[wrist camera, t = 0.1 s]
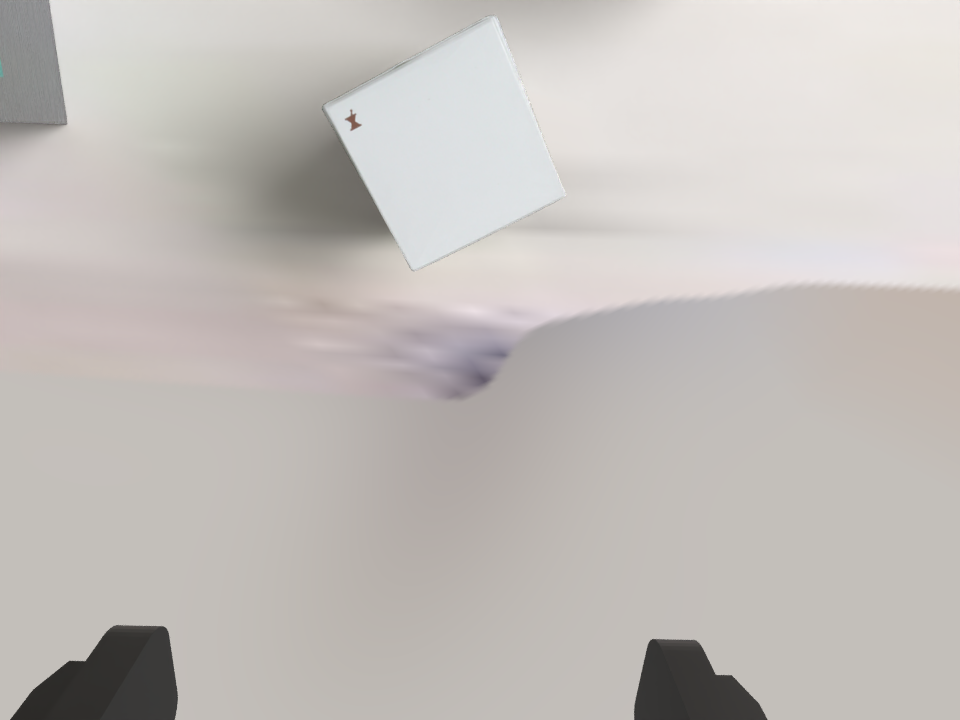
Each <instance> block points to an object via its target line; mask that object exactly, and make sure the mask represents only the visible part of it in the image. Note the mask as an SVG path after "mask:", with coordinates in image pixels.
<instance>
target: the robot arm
mask: <svg viewBox="0 0 960 720" xmlns="http://www.w3.org/2000/svg"><path fill="white" fill-rule="evenodd" d="M177 696H178V695H177V686H176V680H175V673H174V666H173V659H172V652H171V646H170V639H169V633H168V631H167V629H166V628H165V627H163V626H123V625H122V626H121V625H116V626H113V627H112V628H110V629H109V630H108V631H107V632H106V633H105V635H104V636H103V637H102V639H101V640H100V641H99V643H98V644H97V646H96V647H95V649H94V650H93V652H92V653H91V654H90V656H89V657H88V658H87V660H86V661H69V662H67V663H66V664H65V665H64V666H62V667H61V668H60V669H59V670H57V671H56V672H55V673H54V674H52V675H51V676H50V677H49V678H47V679H46V680H45V681H44V682H42V683H41V684H40V685H39V686H37V687H36V688H35V689H34V690H33V691H32V692H31V693H30V694H29V696H28V697H27V698H26V700H25V701H24V702H23V704H22V705H21V706H20V708H19V709H18V710H17V712H16V713H15V714H14V715H13V717H12V718H11V719H10V720H175V715H176V710H177V701H178V697H177ZM634 720H767V718H766V716H765V714H764V712H763V711H762V709H761V707H760V705H759V703H758V702H757V701H756V700H755V699H754V698H753V697H752V696H751V695H750V694H749V693H748V692H747V691H746V690H745V689H744V688H743V687H742V686H741V685H740V684H739V683H738V681H737V680H736V679H735V678H734V677H733V676H732V675H715V673H714V670H713V668H712V666H711V664H710V662H709V660H708V658H707V656H706V654H705V652H704V650H703V648H702V647H701V645H700V644H699V643H698V642H697V641H695V640H664V639H663V640H662V639H652V640H651V641H650V642H649V644H648V647H647V651H646V655H645V660H644V665H643V669H642V673H641V678H640V683H639V687H638V691H637V696H636V701H635V709H634Z"/></svg>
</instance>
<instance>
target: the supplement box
mask: <svg viewBox="0 0 960 720" xmlns="http://www.w3.org/2000/svg"><path fill="white" fill-rule="evenodd" d="M322 110H323V112H324V113H325V115H326V117H327V119H328V121H329V122H330V124H331V126H332V128H333V130H334V131H335V133H336V135H337V137H338V139H339V140H340V142H341V144H342V146H343V147H344V149H345V151H346V153H347V155H348V156H349V158H350V160H351V162H352V164H353V165H354V167H355V169H356V171H357V173H358V174H359V176H360V178H361V180H362V182H363V183H364V185H365V187H366V189H367V191H368V192H369V194H370V196H371V198H372V200H373V201H374V203H375V205H376V207H377V209H378V210H379V212H380V214H381V216H382V217H383V219H384V221H385V223H386V225H387V226H388V228H389V230H390V232H391V234H392V235H393V237H394V239H395V241H396V243H397V244H398V246H399V248H400V250H401V252H402V254H403V256H404V258H405V260H406V261H407V263H408V265H409V267H410V269H411V270H412V271H417V270H419V269H421V268H423V267H426V266H428V265H430V264H432V263H434V262H436V261H438V260H440V259H443V258H445V257H447V256H449V255H451V254H453V253H455V252H457V251H459V250H461V249H463V248H465V247H467V246H469V245H471V244H473V243H475V242H477V241H479V240H481V239H483V238H485V237H487V236H489V235H491V234H493V233H495V232H497V231H499V230H501V229H503V228H505V227H507V226H509V225H511V224H513V223H515V222H517V221H519V220H521V219H523V218H525V217H527V216H529V215H531V214H533V213H535V212H537V211H539V210H541V209H543V208H545V207H547V206H549V205H551V204H553V203H554V202H556V201H558V200H560V199H562V198H564V197H565V196H566V192H565V190H564V188H563V186H562V183H561V180H560V178H559V175H558V173H557V170H556V168H555V165H554V162H553V160H552V157H551V155H550V152H549V150H548V147H547V145H546V142H545V140H544V137H543V134H542V132H541V129H540V127H539V124H538V121H537V119H536V116H535V113H534V111H533V108H532V106H531V103H530V100H529V98H528V95H527V92H526V90H525V87H524V85H523V82H522V79H521V77H520V74H519V72H518V69H517V66H516V64H515V61H514V59H513V56H512V54H511V51H510V48H509V46H508V43H507V41H506V38H505V36H504V33H503V30H502V28H501V25H500V23H499V20H498V18H497V17H496V16H495V15H489V16H487V17H485V18H483V19H481V20H479V21H477V22H475V23H474V24H472V25H470V26H468V27H466V28H464V29H463V30H461V31H459V32H457V33H455V34H453V35H452V36H450V37H448V38H446V39H444V40H442V41H441V42H439V43H437V44H435V45H433V46H431V47H429V48H428V49H426V50H424V51H422V52H420V53H418V54H416V55H415V56H413V57H411V58H409V59H407V60H405V61H403V62H401V63H399V64H397V65H395V66H394V67H392V68H391V69H389V70H387V71H386V72H384V73H382V74H380V75H378V76H376V77H374V78H373V79H371V80H369V81H367V82H365V83H363V84H362V85H360V86H358V87H356V88H354V89H352V90H350V91H348V92H347V93H345V94H343V95H341V96H339V97H337V98H335V99H333V100H331V101H330V102H328V103H326V104H324V105H323V106H322Z"/></svg>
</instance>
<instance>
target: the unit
mask: <svg viewBox="0 0 960 720" xmlns="http://www.w3.org/2000/svg"><path fill="white" fill-rule="evenodd" d="M0 122H17V123H45V124H67V119H66V112H65V105H64V99H63V92H62V86H61V79H60V72H59V66H58V59H57V52H56V46H55V39H54V32H53V26H52V19H51V13H50V6H49V0H0Z"/></svg>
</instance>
